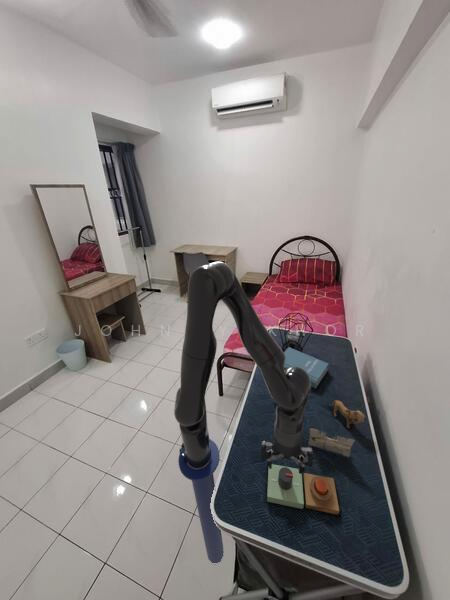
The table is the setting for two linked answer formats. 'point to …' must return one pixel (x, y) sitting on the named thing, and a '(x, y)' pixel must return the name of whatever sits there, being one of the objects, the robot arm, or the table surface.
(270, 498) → the green dial box
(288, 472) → the knob
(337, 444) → the comb
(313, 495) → the button box
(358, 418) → the lion figurine
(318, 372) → the book
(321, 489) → the button
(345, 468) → the table surface
